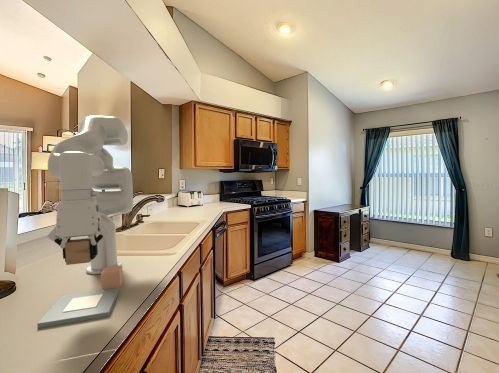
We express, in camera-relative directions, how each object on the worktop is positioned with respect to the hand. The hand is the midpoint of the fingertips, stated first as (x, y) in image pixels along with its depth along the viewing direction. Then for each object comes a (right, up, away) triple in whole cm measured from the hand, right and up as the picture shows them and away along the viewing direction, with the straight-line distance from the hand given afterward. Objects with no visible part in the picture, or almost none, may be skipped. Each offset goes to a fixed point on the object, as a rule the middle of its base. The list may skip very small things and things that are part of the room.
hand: (81, 258), depth 74 cm
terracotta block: (+1, -14, +15) cm, 20 cm away
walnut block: (0, -1, 0) cm, 1 cm away
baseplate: (0, -14, +1) cm, 14 cm away
